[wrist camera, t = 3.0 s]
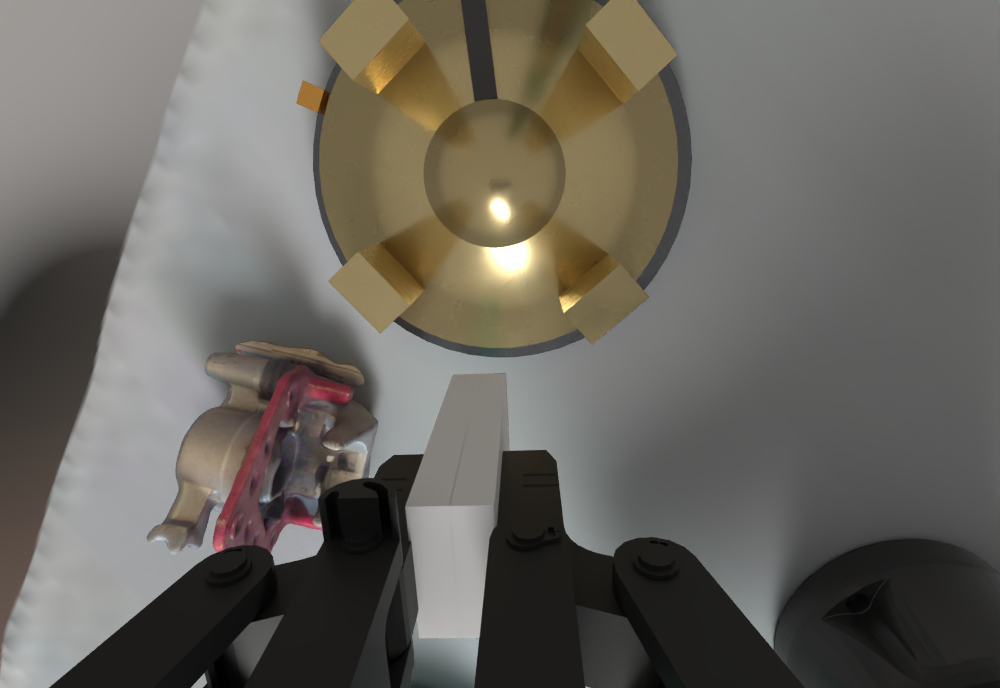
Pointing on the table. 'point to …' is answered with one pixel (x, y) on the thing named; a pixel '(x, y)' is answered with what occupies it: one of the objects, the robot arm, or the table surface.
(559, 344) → the index base
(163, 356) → the table surface
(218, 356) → the brake caliper
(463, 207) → the brass finned hub
